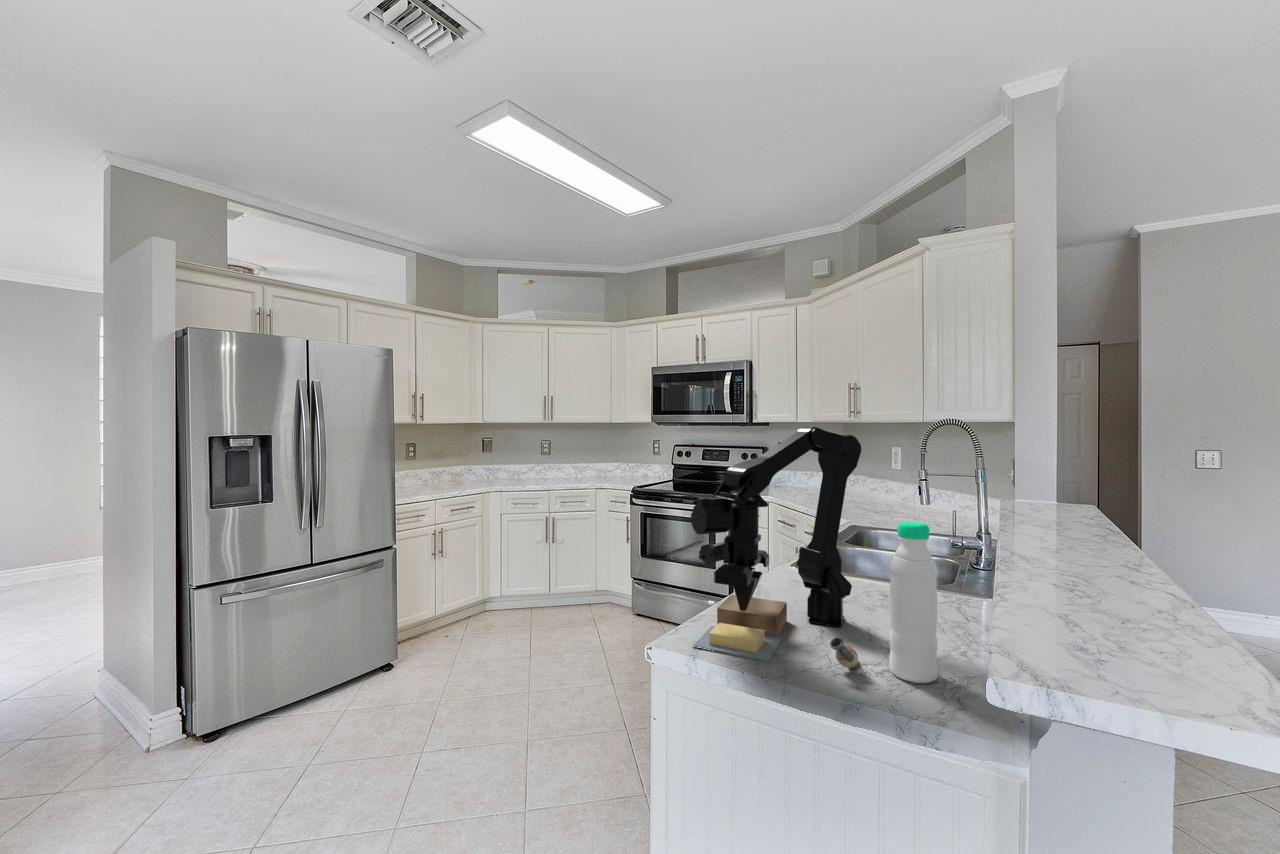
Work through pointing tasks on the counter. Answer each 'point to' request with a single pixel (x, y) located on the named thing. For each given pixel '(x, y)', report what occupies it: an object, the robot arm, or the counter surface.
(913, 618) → the water bottle
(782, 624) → the brown box
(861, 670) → the vase
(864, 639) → the counter surface
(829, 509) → the robot arm
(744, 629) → the pale yellow rectangular block
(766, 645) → the mat
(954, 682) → the counter surface
